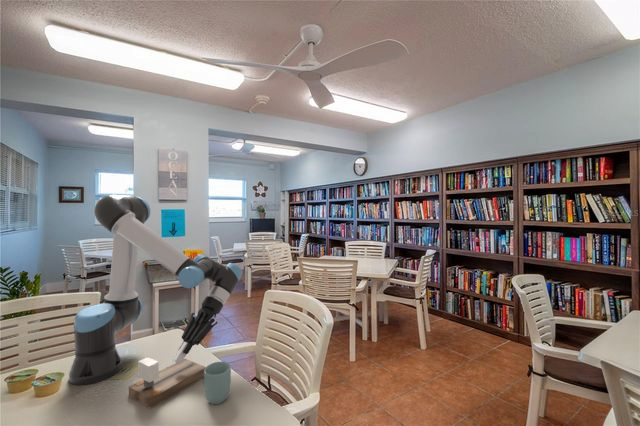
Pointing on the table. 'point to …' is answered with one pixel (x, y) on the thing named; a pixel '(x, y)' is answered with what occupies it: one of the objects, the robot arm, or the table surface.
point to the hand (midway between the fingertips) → (176, 362)
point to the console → (167, 383)
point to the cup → (217, 382)
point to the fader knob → (148, 371)
